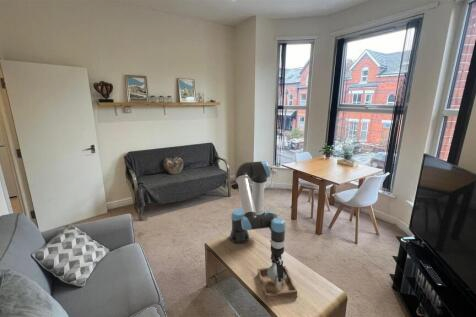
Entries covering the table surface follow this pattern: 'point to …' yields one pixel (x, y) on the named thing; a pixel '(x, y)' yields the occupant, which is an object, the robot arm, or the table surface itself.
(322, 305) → the table surface
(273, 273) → the ceramic mug
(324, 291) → the table surface
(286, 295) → the crate
